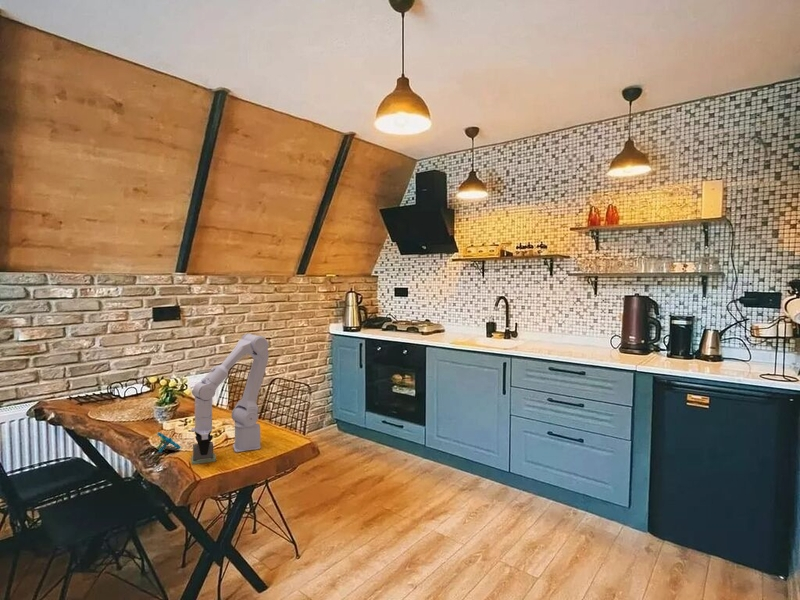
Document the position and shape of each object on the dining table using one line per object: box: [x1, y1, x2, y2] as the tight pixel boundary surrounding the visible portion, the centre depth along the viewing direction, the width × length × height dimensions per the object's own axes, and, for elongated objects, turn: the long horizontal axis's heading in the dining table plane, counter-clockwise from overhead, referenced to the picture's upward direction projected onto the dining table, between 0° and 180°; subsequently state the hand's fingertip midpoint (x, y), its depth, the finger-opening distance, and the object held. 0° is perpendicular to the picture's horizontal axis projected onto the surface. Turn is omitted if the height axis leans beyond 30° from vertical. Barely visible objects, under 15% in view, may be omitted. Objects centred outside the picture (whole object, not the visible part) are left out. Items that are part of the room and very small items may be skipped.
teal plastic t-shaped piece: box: [156, 432, 182, 454], centre depth 174 cm, size 11×6×10 cm
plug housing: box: [192, 441, 214, 460], centre depth 166 cm, size 7×4×4 cm, turn 116°
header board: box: [190, 452, 217, 466], centre depth 167 cm, size 8×6×3 cm
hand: (203, 452), depth 167 cm, fingers closed on plug housing, 4 cm apart
